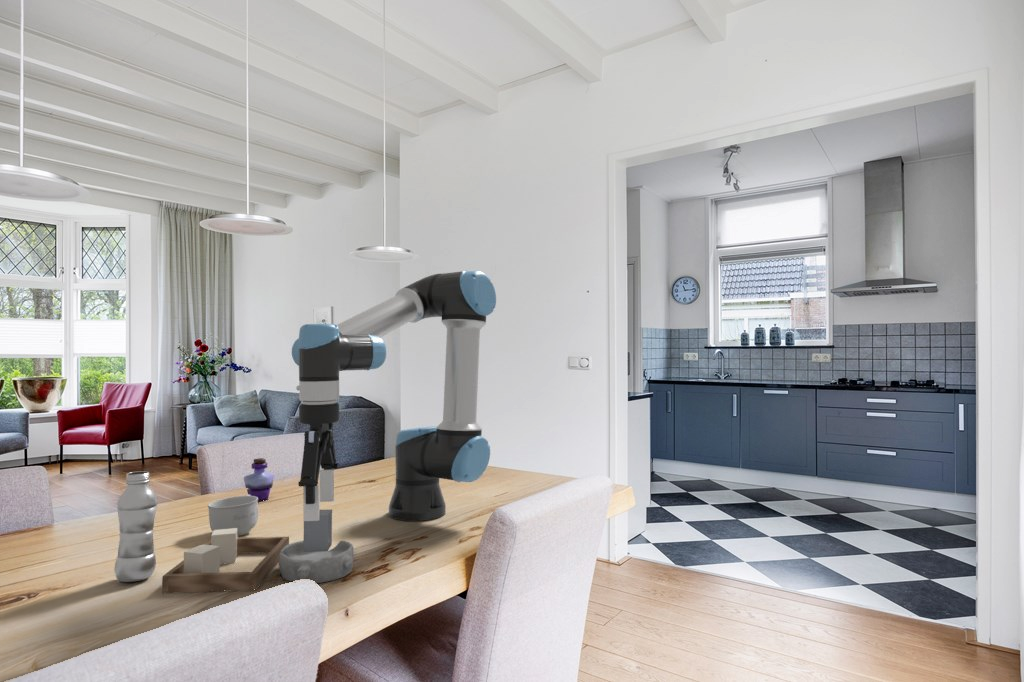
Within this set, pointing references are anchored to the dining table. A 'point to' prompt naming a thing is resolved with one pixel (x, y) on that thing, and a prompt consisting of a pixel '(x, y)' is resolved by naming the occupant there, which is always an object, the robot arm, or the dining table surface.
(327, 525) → the gray block
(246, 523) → the teacup
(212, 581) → the parts tray
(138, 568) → the plastic bottle
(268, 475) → the potion bottle
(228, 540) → the white block
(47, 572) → the dining table surface
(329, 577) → the dish
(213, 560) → the white block
